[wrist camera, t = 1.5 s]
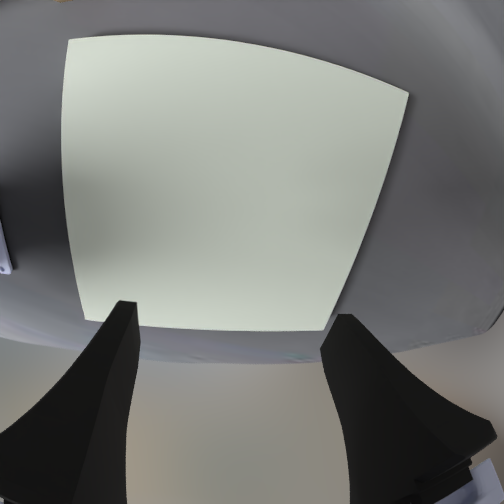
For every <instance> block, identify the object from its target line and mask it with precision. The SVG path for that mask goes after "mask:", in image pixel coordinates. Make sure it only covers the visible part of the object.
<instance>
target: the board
mask: <svg viewBox="0 0 504 504" xmlns="http://www.w3.org/2000/svg"><path fill="white" fill-rule="evenodd" d="M408 95H409V93H408V92H406V91H404V90H401V89H399V88H397V87H394V86H392V85H390V84H387V83H385V82H382V81H380V80H377V79H375V78H372V77H370V76H367V75H364V74H362V73H359V72H356V71H353V70H350V69H347V68H344V67H341V66H338V65H335V64H332V63H329V62H325V61H322V60H319V59H315V58H312V57H308V56H304V55H300V54H296V53H292V52H288V51H284V50H279V49H275V48H270V47H265V46H260V45H254V44H248V43H242V42H236V41H229V40H221V39H213V38H203V37H192V36H177V35H114V36H99V37H88V38H79V39H71V40H69V43H68V49H67V56H66V64H65V73H64V84H63V98H62V120H61V155H62V178H63V192H64V203H65V213H66V221H67V229H68V236H69V243H70V249H71V255H72V261H73V266H74V271H75V276H76V281H77V286H78V291H79V295H80V299H81V303H82V307H83V311H84V315H85V319H86V320H93V321H101V322H104V321H105V320H106V318H107V317H108V315H109V314H110V312H111V311H112V309H113V308H114V306H115V304H116V303H117V302H118V301H119V300H123V301H132V302H137V309H138V321H139V325H141V326H154V327H167V328H183V329H203V330H231V331H313V330H324V328H325V325H326V323H327V321H328V319H329V317H330V315H331V313H332V311H333V308H334V306H335V304H336V302H337V300H338V297H339V295H340V293H341V291H342V288H343V286H344V284H345V281H346V279H347V277H348V274H349V272H350V270H351V267H352V265H353V262H354V260H355V258H356V255H357V253H358V250H359V248H360V245H361V243H362V240H363V238H364V235H365V232H366V230H367V227H368V224H369V222H370V219H371V216H372V214H373V211H374V208H375V205H376V202H377V200H378V197H379V194H380V191H381V188H382V185H383V182H384V179H385V176H386V173H387V170H388V167H389V164H390V160H391V157H392V154H393V151H394V147H395V144H396V140H397V137H398V133H399V130H400V126H401V123H402V119H403V115H404V111H405V107H406V104H407V99H408Z"/></svg>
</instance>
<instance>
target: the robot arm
mask: <svg viewBox="0 0 504 504" xmlns="http://www.w3.org/2000/svg"><path fill="white" fill-rule="evenodd" d="M12 270H13V269H12V265H11V261H10V258H9V254H8V251H7V247H6V243H5V239H4V235H3V230H2V226H1V221H0V273H3V274H10V273H11V272H12ZM140 342H141V341H140V331H139V321H138V309H137V302H132V301H123V300H119V301H118V302H117V303H116V304H115V306H114V308H113V309H112V311H111V312H110V314H109V315H108V317H107V318H106V320H105V321H104V323H103V324H102V326H101V327H100V329H99V330H98V332H97V333H96V334H95V336H94V337H93V338H92V340H91V341H90V343H89V344H88V345H87V347H86V348H85V349H84V351H83V352H82V353H81V354H80V356H79V357H78V358H77V359H76V361H75V362H74V363H73V365H72V366H71V367H70V368H69V369H68V371H67V372H66V373H65V374H64V375H63V376H62V378H61V379H60V380H59V381H58V382H57V383H56V384H55V385H54V386H53V387H52V389H50V390H49V391H48V393H46V394H45V395H44V397H42V399H40V401H39V402H37V403H36V404H35V405H34V406H33V407H32V408H31V409H30V410H29V411H28V412H26V413H25V414H24V415H23V416H22V417H20V418H19V419H18V420H17V421H16V422H15V423H13V424H12V425H11V426H10V427H8V428H7V429H6V430H4V431H3V432H2V433H0V497H1V498H3V499H4V503H3V502H0V504H127V498H126V457H125V456H126V431H127V422H128V416H129V410H130V405H131V399H132V395H133V389H134V384H135V379H136V374H137V369H138V361H139V352H140ZM320 351H321V357H322V363H323V368H324V373H325V375H326V379H327V382H328V385H329V388H330V391H331V394H332V397H333V400H334V403H335V406H336V409H337V412H338V415H339V418H340V422H341V425H342V430H343V435H344V440H345V446H346V453H347V460H348V469H349V481H350V504H499V503H501V502H502V501H503V500H504V493H503V490H502V487H501V484H500V482H499V479H498V476H497V474H496V472H495V469H494V467H493V464H492V462H491V459H490V458H488V459H487V460H485V461H483V462H482V463H480V464H479V465H477V466H476V467H474V468H473V469H471V470H469V467H468V466H470V465H471V464H472V461H471V459H470V458H471V457H472V456H474V455H475V454H476V453H478V452H479V451H480V450H482V449H484V448H485V447H486V446H487V445H489V444H491V443H492V442H493V441H494V440H496V439H497V435H496V432H495V430H494V428H493V426H492V424H491V422H490V421H488V420H486V419H484V418H481V417H479V416H477V415H474V414H472V413H470V412H468V411H466V410H464V409H462V408H460V407H459V406H457V405H455V404H453V403H452V402H450V401H448V400H447V399H445V398H444V397H442V396H441V395H439V394H438V393H436V392H435V391H434V390H432V389H431V388H430V387H428V386H427V385H426V384H424V383H423V382H422V381H421V380H419V379H418V378H417V377H415V375H413V374H412V373H411V372H410V371H409V370H408V369H407V368H405V366H404V365H402V364H401V363H400V362H399V361H398V360H397V359H396V358H395V357H394V356H393V355H392V354H391V353H390V352H389V351H388V350H387V349H386V348H385V347H384V346H383V345H382V344H381V343H380V342H379V341H378V340H377V339H376V338H375V337H374V336H373V335H372V333H371V332H370V331H369V330H368V329H367V328H366V327H365V326H364V325H363V324H362V323H361V322H360V321H359V320H358V319H357V318H356V317H354V316H353V315H352V314H338V316H337V317H336V319H335V321H334V323H333V325H332V327H331V329H330V331H329V333H328V335H327V337H326V339H325V341H324V342H323V344H322V346H321V348H320Z"/></svg>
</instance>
